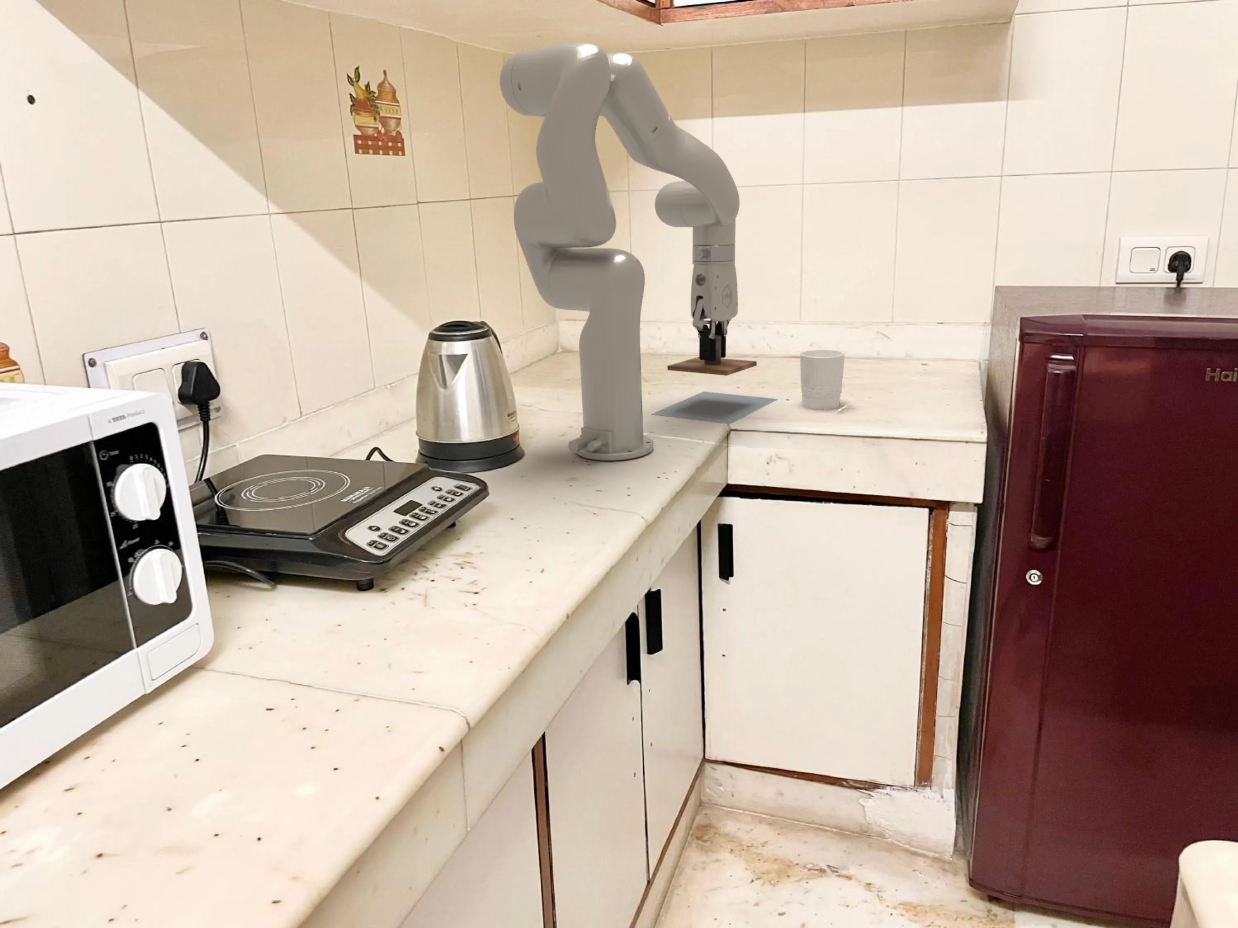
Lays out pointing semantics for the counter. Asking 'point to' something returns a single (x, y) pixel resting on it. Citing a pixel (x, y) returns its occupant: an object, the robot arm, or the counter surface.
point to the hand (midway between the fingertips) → (712, 357)
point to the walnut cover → (713, 364)
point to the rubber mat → (715, 407)
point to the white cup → (821, 378)
